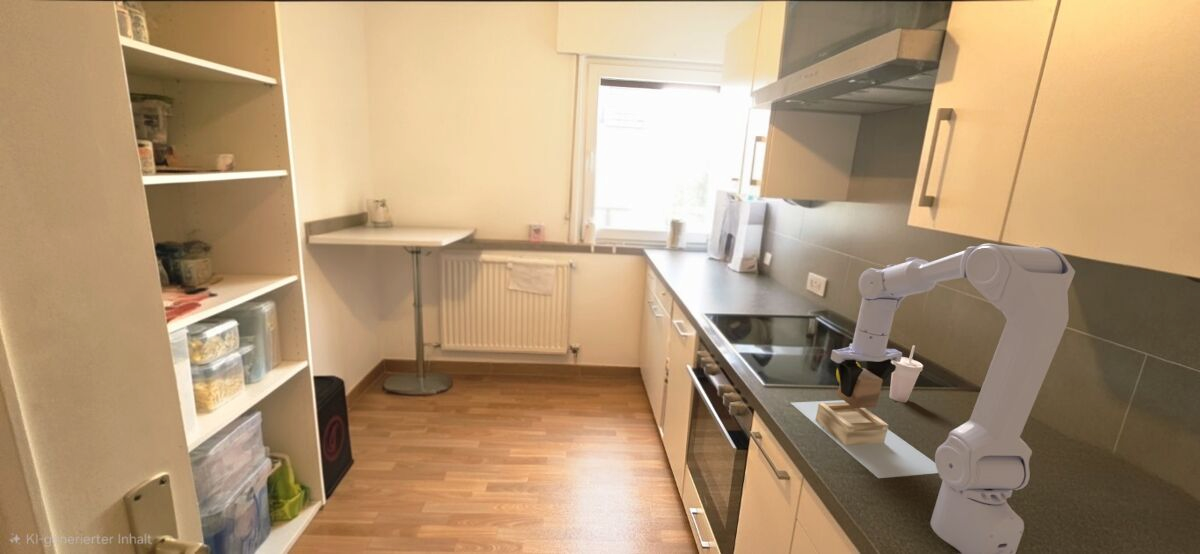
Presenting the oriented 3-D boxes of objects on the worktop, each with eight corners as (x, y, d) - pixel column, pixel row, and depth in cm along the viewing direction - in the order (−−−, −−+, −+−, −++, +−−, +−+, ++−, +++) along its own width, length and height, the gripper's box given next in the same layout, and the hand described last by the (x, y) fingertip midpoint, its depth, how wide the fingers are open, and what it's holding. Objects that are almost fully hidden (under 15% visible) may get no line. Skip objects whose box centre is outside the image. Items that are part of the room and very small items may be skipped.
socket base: (884, 442, 93) (888, 424, 92) (845, 445, 91) (849, 427, 90) (851, 418, 102) (855, 401, 101) (815, 420, 100) (818, 403, 99)
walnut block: (876, 407, 93) (883, 379, 92) (854, 408, 92) (861, 380, 90) (857, 394, 98) (864, 368, 96) (836, 395, 97) (843, 368, 95)
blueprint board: (947, 475, 86) (948, 472, 86) (877, 482, 82) (878, 478, 82) (846, 403, 110) (847, 400, 110) (789, 405, 107) (790, 402, 107)
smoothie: (897, 405, 111) (911, 350, 108) (877, 392, 117) (889, 339, 114) (920, 404, 112) (935, 350, 109) (898, 391, 118) (912, 339, 115)
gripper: (887, 323, 97) (873, 383, 100) (826, 323, 93) (813, 385, 97) (916, 335, 90) (900, 400, 93) (851, 336, 87) (836, 403, 90)
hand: (857, 394), depth 95 cm, fingers closed on walnut block, 5 cm apart
